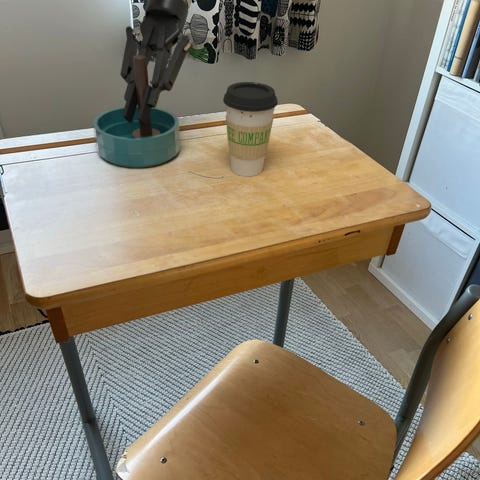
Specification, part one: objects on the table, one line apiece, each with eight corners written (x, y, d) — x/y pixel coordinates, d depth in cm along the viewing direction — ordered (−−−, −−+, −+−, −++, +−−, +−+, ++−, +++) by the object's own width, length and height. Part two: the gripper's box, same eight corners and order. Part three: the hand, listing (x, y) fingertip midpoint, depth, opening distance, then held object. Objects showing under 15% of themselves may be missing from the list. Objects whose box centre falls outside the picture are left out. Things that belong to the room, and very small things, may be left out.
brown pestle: (126, 142, 101) (117, 57, 91) (144, 133, 105) (137, 50, 94) (149, 149, 99) (142, 63, 89) (166, 139, 103) (161, 56, 92)
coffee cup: (214, 175, 98) (215, 94, 88) (231, 154, 105) (233, 77, 95) (263, 184, 96) (270, 103, 86) (277, 163, 103) (284, 85, 93)
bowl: (80, 154, 102) (74, 125, 98) (133, 127, 113) (131, 100, 109) (145, 177, 97) (143, 147, 92) (195, 147, 107) (195, 118, 103)
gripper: (213, 19, 98) (178, 137, 98) (141, 9, 102) (107, 122, 101) (201, -8, 91) (163, 119, 90) (125, -18, 94) (88, 103, 94)
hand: (134, 120), depth 96 cm, fingers closed on brown pestle, 2 cm apart
